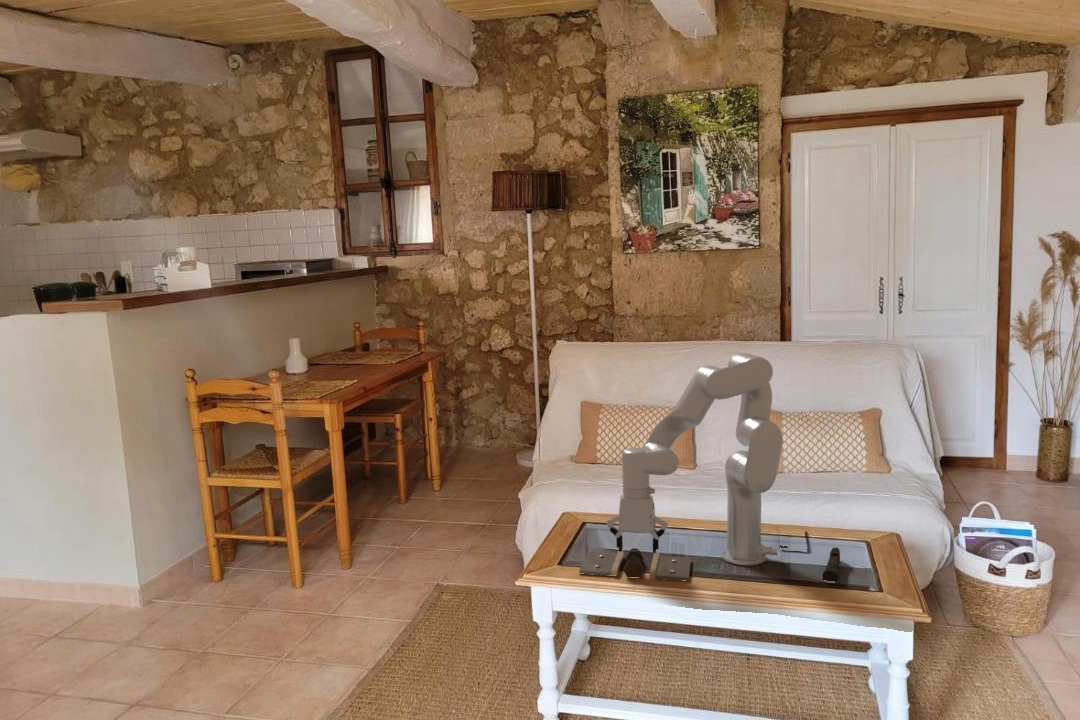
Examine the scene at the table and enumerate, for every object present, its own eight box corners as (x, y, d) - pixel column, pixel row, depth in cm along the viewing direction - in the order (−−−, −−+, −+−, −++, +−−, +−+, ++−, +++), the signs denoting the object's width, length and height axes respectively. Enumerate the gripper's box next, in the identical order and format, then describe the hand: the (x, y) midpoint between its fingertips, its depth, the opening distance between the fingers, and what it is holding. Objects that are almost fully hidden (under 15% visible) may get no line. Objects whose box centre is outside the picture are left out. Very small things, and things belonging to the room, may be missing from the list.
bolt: (637, 565, 233) (636, 584, 218) (622, 556, 234) (620, 574, 219) (647, 548, 232) (647, 566, 217) (632, 540, 233) (630, 556, 218)
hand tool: (837, 586, 211) (838, 569, 211) (822, 583, 213) (822, 567, 213) (846, 562, 228) (846, 546, 227) (831, 560, 230) (832, 544, 229)
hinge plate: (690, 561, 230) (690, 555, 230) (688, 581, 215) (688, 574, 215) (588, 555, 237) (588, 548, 236) (579, 574, 222) (579, 567, 222)
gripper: (668, 489, 225) (669, 547, 227) (607, 487, 229) (609, 544, 231) (666, 497, 218) (667, 557, 220) (603, 495, 222) (605, 554, 224)
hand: (637, 550), depth 226 cm, fingers open, 9 cm apart
